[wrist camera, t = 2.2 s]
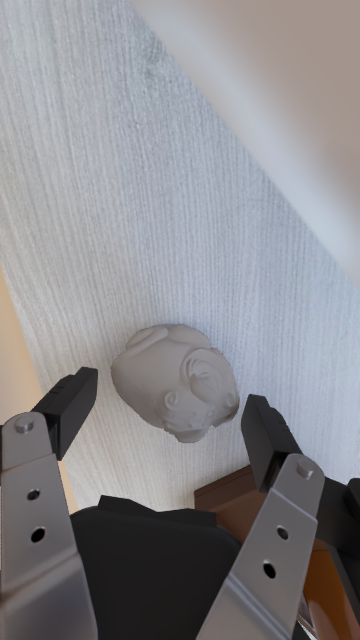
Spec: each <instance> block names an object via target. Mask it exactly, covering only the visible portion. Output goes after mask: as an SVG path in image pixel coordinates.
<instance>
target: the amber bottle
mask: <svg viewBox="0 0 360 640" xmlns="http://www.w3.org/2000/svg"><path fill="white" fill-rule="evenodd" d="M302 592H303V596H304V599H305V602H306V605H307V608H308V611H309V614H310V617H311V621H312V624H313V627H314V630H315V633H316V636H317V639H318V640H360V627H359V625H358V623H357V620H356V618H355V615H354V613H353V610H352V608H351V605H350V603H349V600H348V598H347V595H346V593H345V590H344V588H343V585H342V583H341V581H340V578H339V576H338V573H337V571H336V568H335V566H334V563H333V561H332V558H331V556H330V553H329V551H328V550H319V551H313V552H311V556H310V561H309V565H308V569H307V574H306V578H305V582H304V587H303V591H302Z"/></svg>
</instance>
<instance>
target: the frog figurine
mask: <svg viewBox="0 0 360 640" xmlns="http://www.w3.org/2000/svg"><path fill="white" fill-rule="evenodd" d="M111 375H112V380H113V384H114V386H115V389H116V391H117V393H118V394H119V396H120V397H121V398H122V399H123V400H124V401H125V402H126V403H127V404H128V405H129V406H130V407H131V408H133V410H134V411H135V412H136V413H137V414H139V416H140V417H141V418H142V419H143V420H145V421H146V422H147V423H149V424H150V425H152V426H155V427H158V428H161V429H162V428H163V429H164V430H165V431H167V432H169V433H170V434H173V435H175V437H176V438H177V440H178V441H179V442H181V443H194V442H197V441H199V440H200V439H202V438H203V437H204V435H205V434H206V433H207V431H208V429H209V427H210V425H213V426H214V427H215V428H216V427H218V426H219V425H221V424H222V423H225V422H228V421H230V420H232V419H233V418H234V416H235V415H236V413H237V410H238V408H239V401H240V400H239V393H238V389H237V385H236V381H235V378H234V375H233V372H232V369H231V366H230V364H229V362H228V360H227V359H226V357H225V356H224V355H223V353H221V352H220V351H219V350H218V349H217V348H212V347H211V341H210V339H209V338H208V337H207V336H206V335H205V334H203V333H202V332H200V331H199V330H196V329H194V328H191V327H188V326H187V325H184V324H178V325H162V326H161V325H160V326H153V327H150V328H146V329H142V330H140V331H138V332H137V333H136V334H135V335H134V336H133V337H132V338H131V340H130V341H129V342H128V343H127V346H126V351H125V352H123V353H122V354H120V355H119V356H118V357H117V358H116V359H115V361H114V362H113V364H112V366H111Z"/></svg>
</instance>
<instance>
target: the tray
mask: <svg viewBox="0 0 360 640" xmlns="http://www.w3.org/2000/svg"><path fill="white" fill-rule="evenodd" d="M301 452H302V451H301ZM302 454H303V453H302ZM303 455H304V454H303ZM304 456H305V455H304ZM266 497H267V494H263V493H259V492H258V489H257V485H256V482H255V478H254V474H253V471H252V467H251V465H249V466H247V467H245V468H243V469H241V470H239V471H237V472H235V473H232V474H230V475H228V476H226V477H224V478H222V479H220V480H218V481H216V482H213V483H211V484H209V485H207V486H205V487H203V488H201V489H199V490H197V491H195V492H194V498H195V509H196V510H202V511H209V512H215V513H216V521H217V524H218V525H220V526H222V527H223V528H225V529H227V530H228V531H229V532H231V533H232V534H233V535H234V536H235V537H236V538H237V539H238V540H240V542H241V543H242V544H244V541H245V539H246V537H247V535H248V533H249V531H250V529H251V527H252V525H253V523H254V521H255V519H256V517H257V515H258V513H259V511H260V509H261V507H262V505H263V503H264V501H265V499H266ZM319 550H328V548H327V546H326V543H325V542H323V541H321V540H319V539H317V538H315V539H314V543H313V547H312V552H313V551H319ZM296 619H297V620H298V621H299V622H300V623H301V624H302V625H303V626H304V627H305V628H306V629H307V630H308V631H309V632H310V633H311V634H312V635H313V636H314V637H315V638H316V639H317V636H316V633H315V630H314V627H313V624H312V621H311V617H310V614H309V611H308V608H307V605H306V602H305V599H304V596H303V592H302V595H301V600H300V604H299V608H298V613H297V617H296ZM317 640H318V639H317Z"/></svg>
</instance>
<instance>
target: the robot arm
mask: <svg viewBox="0 0 360 640" xmlns="http://www.w3.org/2000/svg"><path fill="white" fill-rule="evenodd" d="M97 381H98V370H97V369H94V368H88V367H81V368H80V370H79V371H78V372H77V373H76V374H75V375H68V376H66V377H64V378H62V379H60V380H59V381H58V382H57V384H56V385H55V386H54V387H53V388H52V389H51V390H50V391H49V393H47V394H46V395H45V396H44V397H43V398H42V399H41V400H40V401H39V403H38V404H37V405H36V406H35V407H34V408H33V409H32V410H31V411H30V412H25V413H21V414H18V415H15V416H14V417H12V418H10V419H9V420H8V421H7V422H6V423H5V424H4V425H0V486H1V570H0V640H311V639H310V638H309V636H308V635H307V633H306V632H305V631H304V629H303V628H302V626H301V625H300V623H299V622H298V621H297V619H296V617H297V613H298V608H299V604H300V600H301V595H302V591H303V587H304V582H305V578H306V574H307V569H308V565H309V561H310V556H311V552H312V547H313V543H314V539H315V538H317V539H319V540H321V541H323V542H325V543H326V546H327V548H328V551H329V553H330V556H331V558H332V561H333V563H334V566H335V568H336V571H337V573H338V576H339V578H340V581H341V583H342V585H343V588H344V590H345V593H346V595H347V598H348V600H349V603H350V605H351V608H352V610H353V613H354V615H355V618H356V620H357V623H358V625H359V627H360V478H352V479H351V480H350V481H349V483H348V485H347V486H346V485H344V484H342V483H339V482H337V481H335V480H332V479H330V478H328V477H325V476H324V473H323V471H322V470H321V468H320V467H319V466H318V465H317V464H316V463H315V462H314V461H313V460H311V459H310V458H308V457H306V456H304V455H303V454H302V452H301V450H300V448H299V446H298V444H297V443H296V441H295V439H294V437H293V435H292V433H291V432H290V430H289V428H288V426H287V425H286V422H285V420H284V418H283V416H282V415H281V414H280V413H279V412H278V411H277V410H276V409H275V408H272V407H270V406H269V404H268V401H267V399H266V398H265V396H260V395H253V394H249V396H248V398H247V402H246V405H245V408H244V412H243V415H242V419H241V431H242V434H243V438H244V442H245V445H246V449H247V452H248V456H249V460H250V463H251V467H252V471H253V474H254V478H255V482H256V485H257V489H258V492H259V493H263V494H267V497H266V499H265V501H264V503H263V505H262V507H261V509H260V511H259V513H258V515H257V517H256V519H255V521H254V523H253V525H252V527H251V529H250V531H249V533H248V535H247V537H246V539H245V541H244V544H242V543H241V542H240V540H238V539H237V538H236V537H235V536H234V535H233V534H232V533H231V532H229V531H228V530H227V529H225V528H223V527H222V526H220V525H218V524H217V521H216V513H215V512H209V511H202V510H196V509H189V508H186V509H179V510H171V511H164V512H156V511H154V510H152V509H150V508H147V507H145V506H143V505H141V504H139V503H137V502H134V501H132V500H130V499H125V498H118V497H112V496H105V495H101V498H100V500H99V503H98V506H92V507H88V508H84V509H82V510H79V511H77V512H75V513H73V514H71V515H69V511H68V506H67V502H66V498H65V493H64V489H63V484H62V480H61V475H60V471H59V466H58V462H57V461H61V460H62V458H63V457H64V455H65V453H66V452H67V450H68V448H69V446H70V445H71V443H72V441H73V440H74V438H75V436H76V435H77V433H78V431H79V430H80V428H81V426H82V425H83V423H84V421H85V419H86V418H87V416H88V414H89V413H90V411H91V409H92V408H93V406H94V403H95V400H96V396H97Z"/></svg>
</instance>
